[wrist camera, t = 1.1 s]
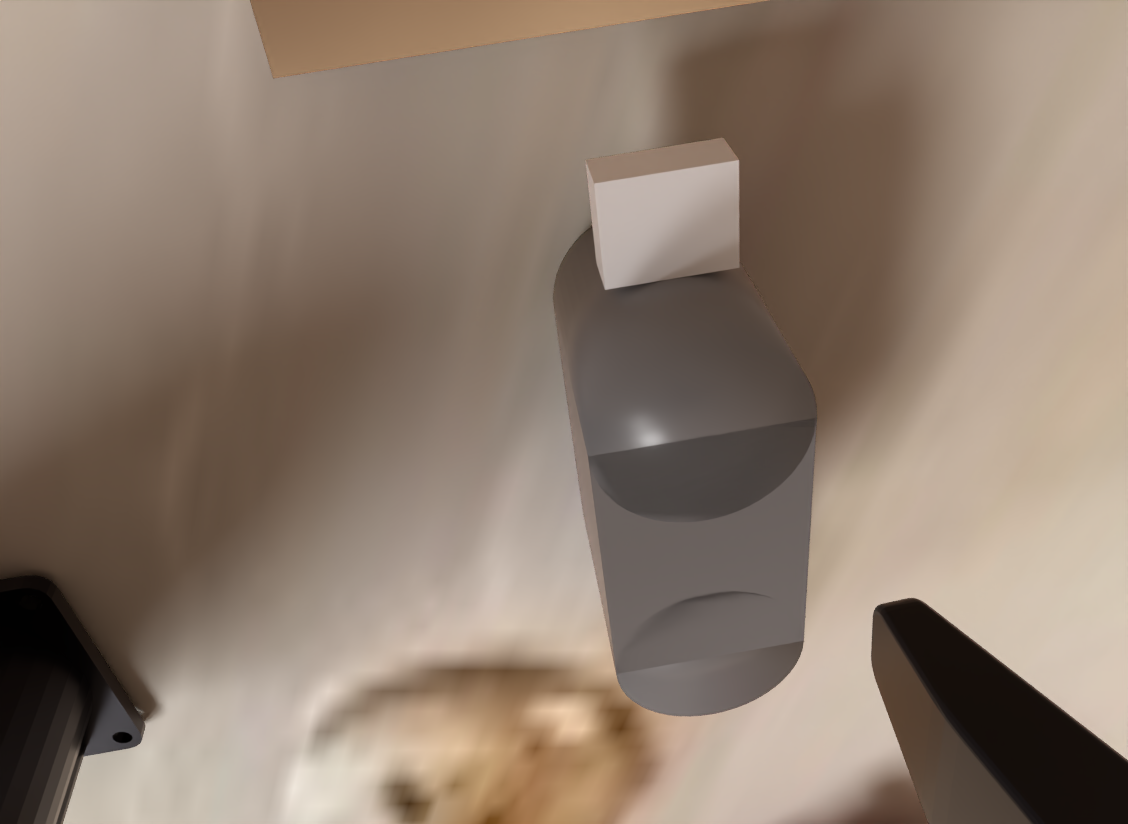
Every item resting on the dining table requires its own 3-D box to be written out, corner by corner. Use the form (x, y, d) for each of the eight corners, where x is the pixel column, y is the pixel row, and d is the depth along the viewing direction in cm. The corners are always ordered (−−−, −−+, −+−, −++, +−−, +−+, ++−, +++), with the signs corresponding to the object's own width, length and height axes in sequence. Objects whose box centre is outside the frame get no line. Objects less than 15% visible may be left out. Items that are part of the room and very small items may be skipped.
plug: (739, 591, 27) (797, 749, 23) (597, 616, 26) (630, 779, 22) (737, 91, 18) (829, 204, 14) (528, 124, 18) (560, 248, 14)
